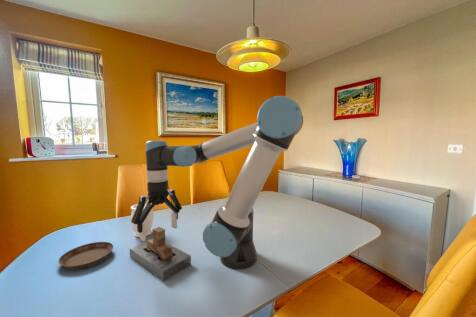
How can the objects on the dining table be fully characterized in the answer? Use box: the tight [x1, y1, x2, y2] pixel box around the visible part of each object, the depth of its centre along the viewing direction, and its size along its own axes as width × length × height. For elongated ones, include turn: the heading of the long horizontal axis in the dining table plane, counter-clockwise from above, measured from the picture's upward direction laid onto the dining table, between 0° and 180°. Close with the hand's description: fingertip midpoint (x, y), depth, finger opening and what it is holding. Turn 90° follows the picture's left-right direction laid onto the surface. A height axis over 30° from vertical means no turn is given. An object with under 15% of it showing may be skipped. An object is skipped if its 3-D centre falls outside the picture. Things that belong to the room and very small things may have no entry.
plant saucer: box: [57, 241, 114, 271], centre depth 81 cm, size 18×18×3 cm
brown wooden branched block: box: [146, 226, 173, 262], centre depth 80 cm, size 12×4×13 cm, turn 53°
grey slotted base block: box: [129, 241, 192, 282], centre depth 80 cm, size 24×12×4 cm, turn 53°
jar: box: [130, 202, 155, 238], centre depth 103 cm, size 11×10×15 cm
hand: (159, 233), depth 79 cm, fingers open, 13 cm apart
